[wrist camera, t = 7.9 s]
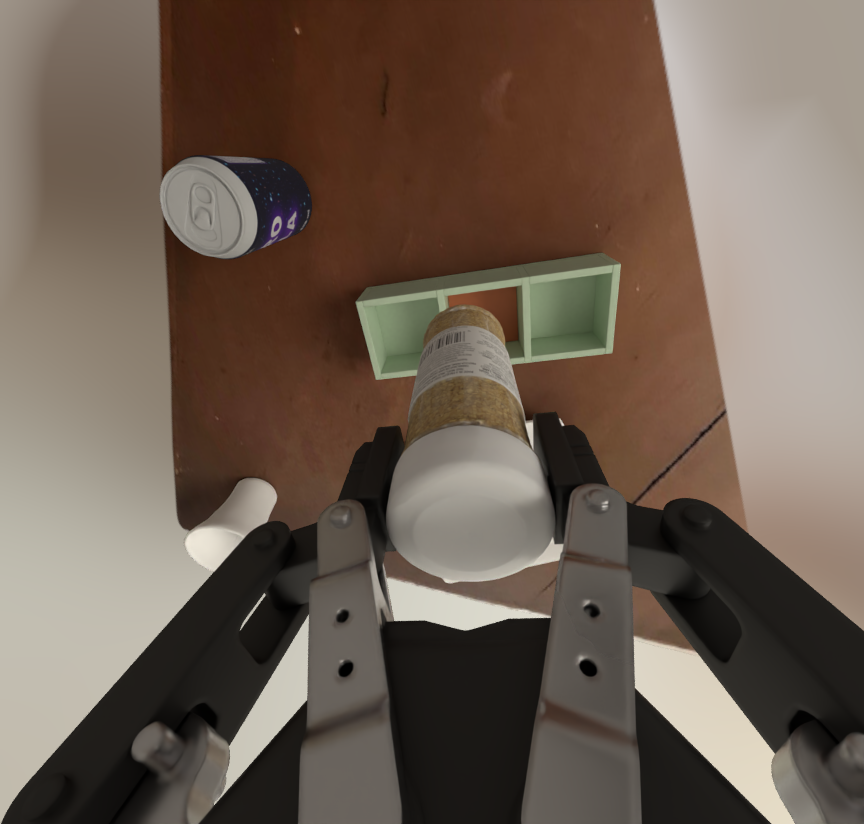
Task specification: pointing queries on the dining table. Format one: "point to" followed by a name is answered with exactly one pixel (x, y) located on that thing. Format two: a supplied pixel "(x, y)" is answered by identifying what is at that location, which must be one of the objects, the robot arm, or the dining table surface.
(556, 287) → the tray
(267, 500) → the cup
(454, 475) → the spice jar
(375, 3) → the dining table surface
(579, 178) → the dining table surface
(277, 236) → the beverage can
